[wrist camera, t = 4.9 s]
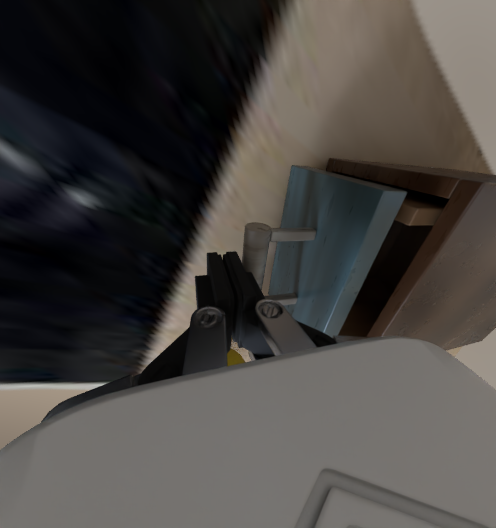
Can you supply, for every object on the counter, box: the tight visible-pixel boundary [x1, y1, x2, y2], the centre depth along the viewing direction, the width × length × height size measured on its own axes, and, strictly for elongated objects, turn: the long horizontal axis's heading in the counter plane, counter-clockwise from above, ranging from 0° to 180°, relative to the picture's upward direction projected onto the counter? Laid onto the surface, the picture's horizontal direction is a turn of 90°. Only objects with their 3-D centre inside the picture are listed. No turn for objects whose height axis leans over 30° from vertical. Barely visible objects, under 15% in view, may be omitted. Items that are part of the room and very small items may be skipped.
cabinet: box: [326, 158, 496, 351], centre depth 16 cm, size 14×13×10 cm
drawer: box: [242, 165, 449, 338], centre depth 15 cm, size 17×11×8 cm
